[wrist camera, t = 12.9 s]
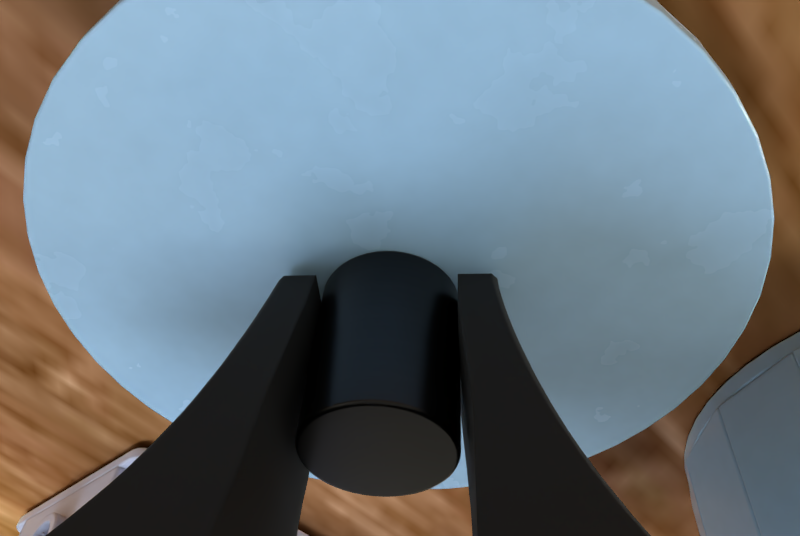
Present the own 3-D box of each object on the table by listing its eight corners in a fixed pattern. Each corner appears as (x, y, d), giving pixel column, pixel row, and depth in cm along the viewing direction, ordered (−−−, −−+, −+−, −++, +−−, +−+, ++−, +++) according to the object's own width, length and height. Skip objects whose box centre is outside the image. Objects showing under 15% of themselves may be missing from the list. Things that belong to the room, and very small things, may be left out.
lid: (-78, 225, 14) (-237, 405, 11) (440, -379, 8) (430, -380, 5) (377, 506, 21) (363, 673, 18) (868, 300, 14) (994, 504, 11)
